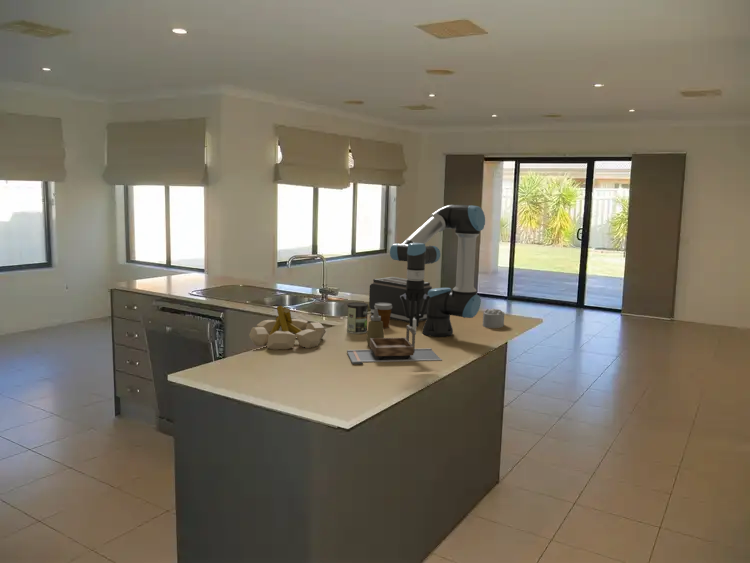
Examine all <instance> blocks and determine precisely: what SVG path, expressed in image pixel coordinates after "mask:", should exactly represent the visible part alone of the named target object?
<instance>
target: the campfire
mask: <svg viewBox="0 0 750 563" xmlns="http://www.w3.org/2000/svg"><path fill="white" fill-rule="evenodd" d="M276 311H277V317H276V318H275V319H267V320H266V319H265V320H262V321H260V322H258V323H257V324H256V326H255V327H251V330H250V331H249V332H250V333H249V335H248V337H249V338H250V340H251V341H252V343H253V344H254V345H255V346H256V347H264V346H265V347H266V349H269V350H278V349H287V350H289V349H291V348H293V347H294V345H295V342H296V339H297V341H298V344H299V346H300V347H301V348H304V347H305V348H304V349H311V347H312V348H316V347H318V346H319V344H320V342H321V340H323V338H324V336H325V335H326V332H327V331H326V329H325V327H324V325H322V323H321V322H319V321H317V322H309V321H308V320H305V319H301V318H292V315H291V314H292V313H291V309H290V308H288V307H284V306H283V305H278V306H276ZM315 346H316V347H315Z"/></svg>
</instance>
